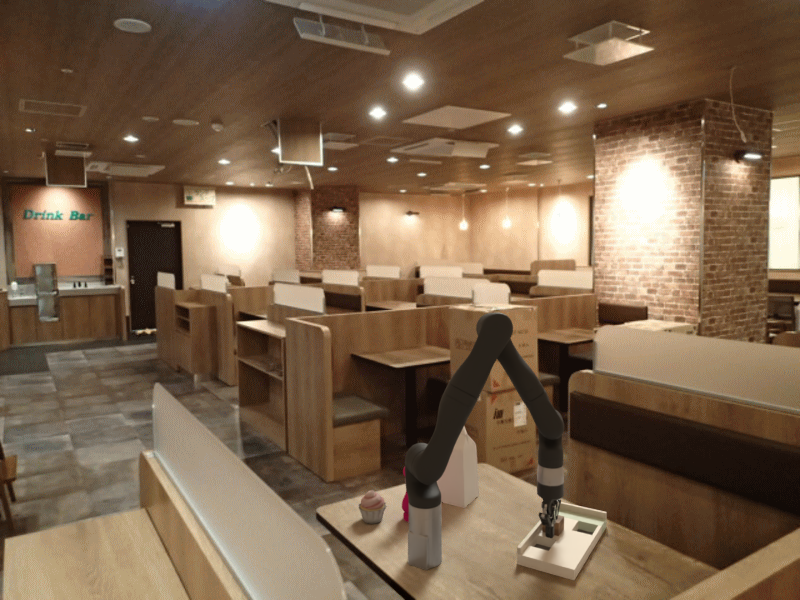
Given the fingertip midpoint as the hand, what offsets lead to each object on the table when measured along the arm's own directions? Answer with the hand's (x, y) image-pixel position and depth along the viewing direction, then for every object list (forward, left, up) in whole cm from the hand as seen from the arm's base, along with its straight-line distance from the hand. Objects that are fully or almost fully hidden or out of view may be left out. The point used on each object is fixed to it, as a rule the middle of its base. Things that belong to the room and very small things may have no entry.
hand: (549, 536), depth 181 cm
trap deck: (+5, -3, -4) cm, 7 cm away
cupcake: (-10, +55, -4) cm, 56 cm away
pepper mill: (-3, +44, -4) cm, 45 cm away
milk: (+18, +39, -4) cm, 43 cm away
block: (+6, +1, -1) cm, 6 cm away
